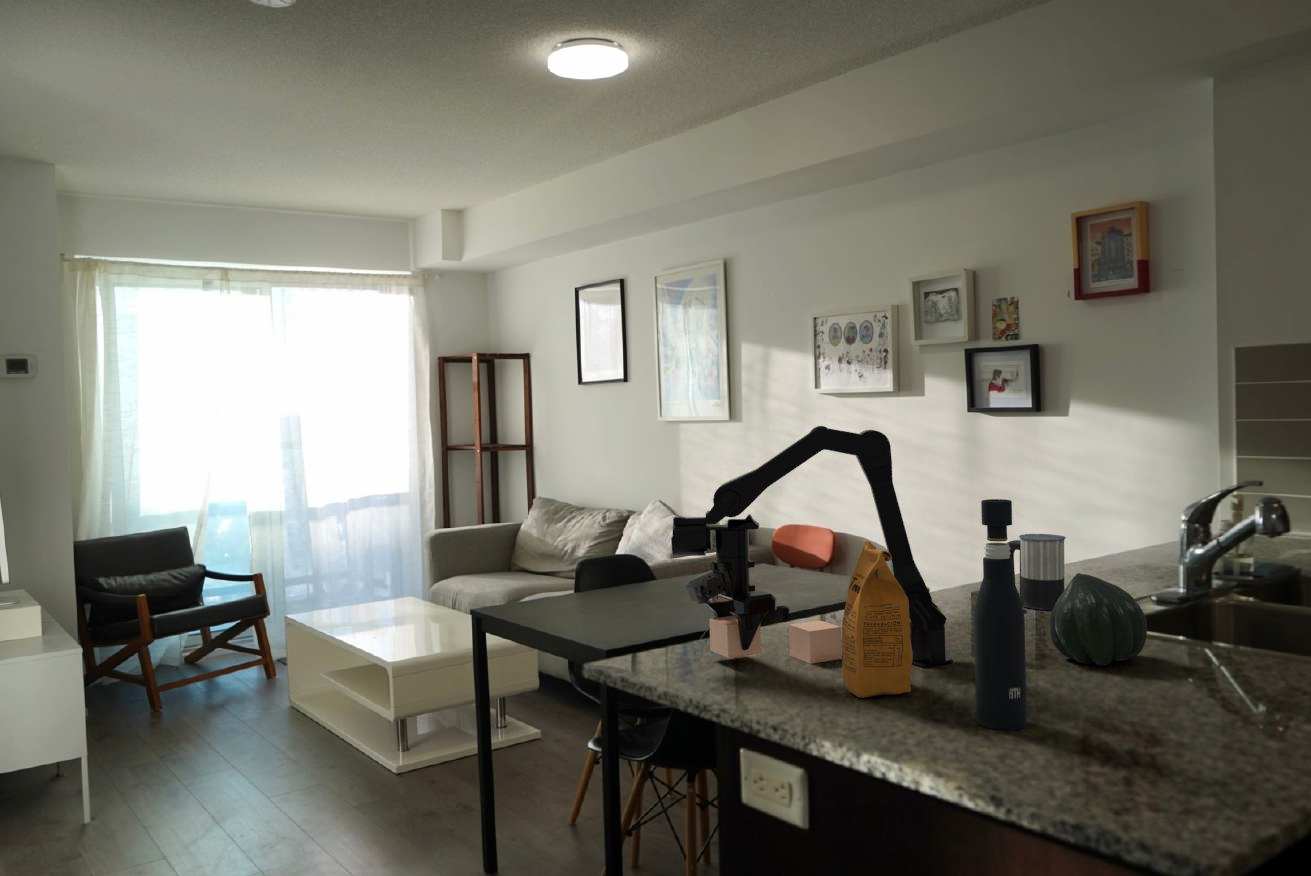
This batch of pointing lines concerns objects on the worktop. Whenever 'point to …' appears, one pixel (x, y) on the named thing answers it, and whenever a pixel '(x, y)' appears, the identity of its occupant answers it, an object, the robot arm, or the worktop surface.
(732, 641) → the pink block
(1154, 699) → the worktop surface
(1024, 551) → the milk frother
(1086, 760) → the worktop surface
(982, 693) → the navy water bottle
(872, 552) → the coffee package
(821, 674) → the worktop surface
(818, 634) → the pink rectangular prism
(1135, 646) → the squash
